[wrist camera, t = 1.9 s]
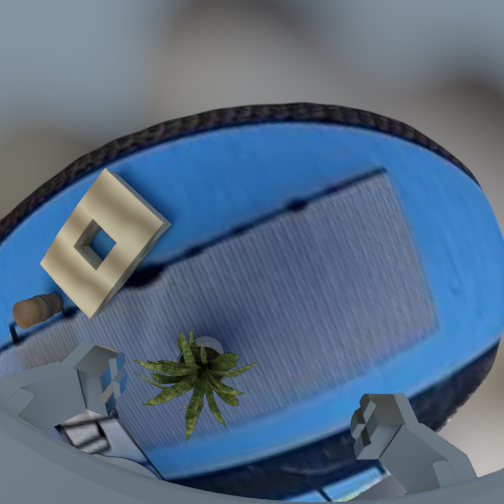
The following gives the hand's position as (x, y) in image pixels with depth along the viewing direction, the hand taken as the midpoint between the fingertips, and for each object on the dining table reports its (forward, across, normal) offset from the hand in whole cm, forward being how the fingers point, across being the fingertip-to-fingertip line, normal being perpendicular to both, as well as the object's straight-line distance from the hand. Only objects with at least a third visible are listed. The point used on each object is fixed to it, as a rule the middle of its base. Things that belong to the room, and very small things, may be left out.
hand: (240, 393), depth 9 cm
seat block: (+33, -24, -7) cm, 41 cm away
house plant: (+31, -6, -20) cm, 38 cm away
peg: (+29, -33, -18) cm, 48 cm away
